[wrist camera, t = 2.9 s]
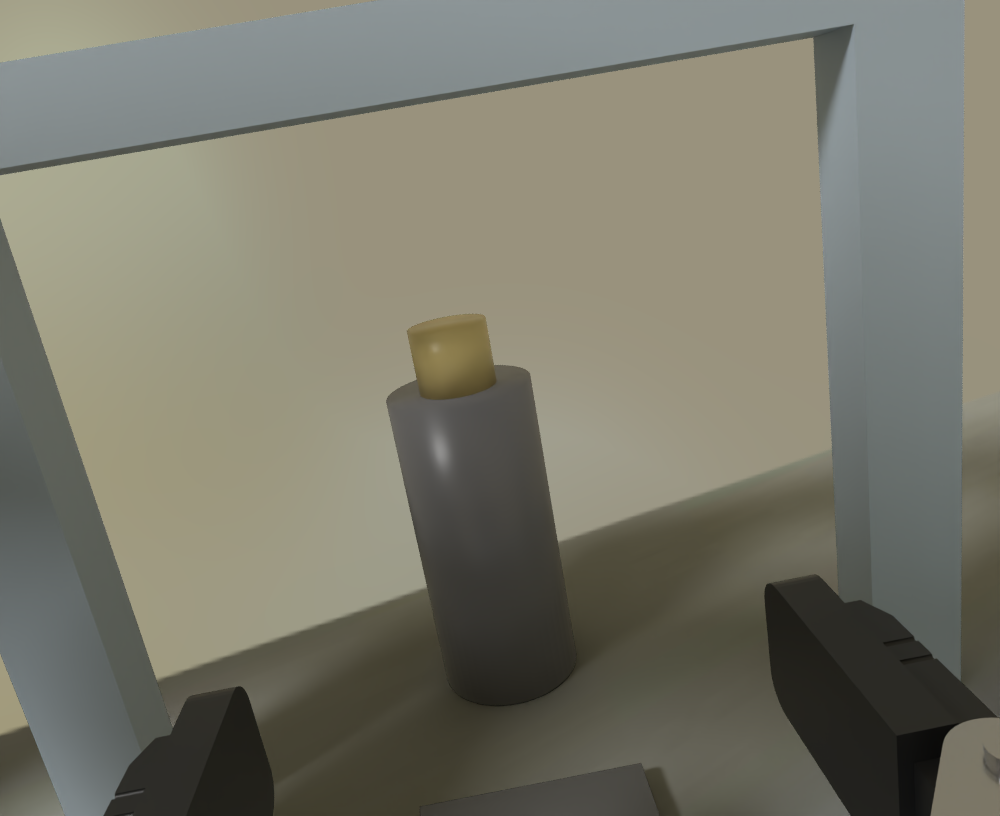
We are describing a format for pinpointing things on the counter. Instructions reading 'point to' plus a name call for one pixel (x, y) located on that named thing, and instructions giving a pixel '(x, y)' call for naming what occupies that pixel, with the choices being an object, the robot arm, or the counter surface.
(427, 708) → the counter surface
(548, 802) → the mat
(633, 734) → the counter surface
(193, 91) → the rectangular arch frame
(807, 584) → the robot arm
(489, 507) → the bottle
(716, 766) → the counter surface
